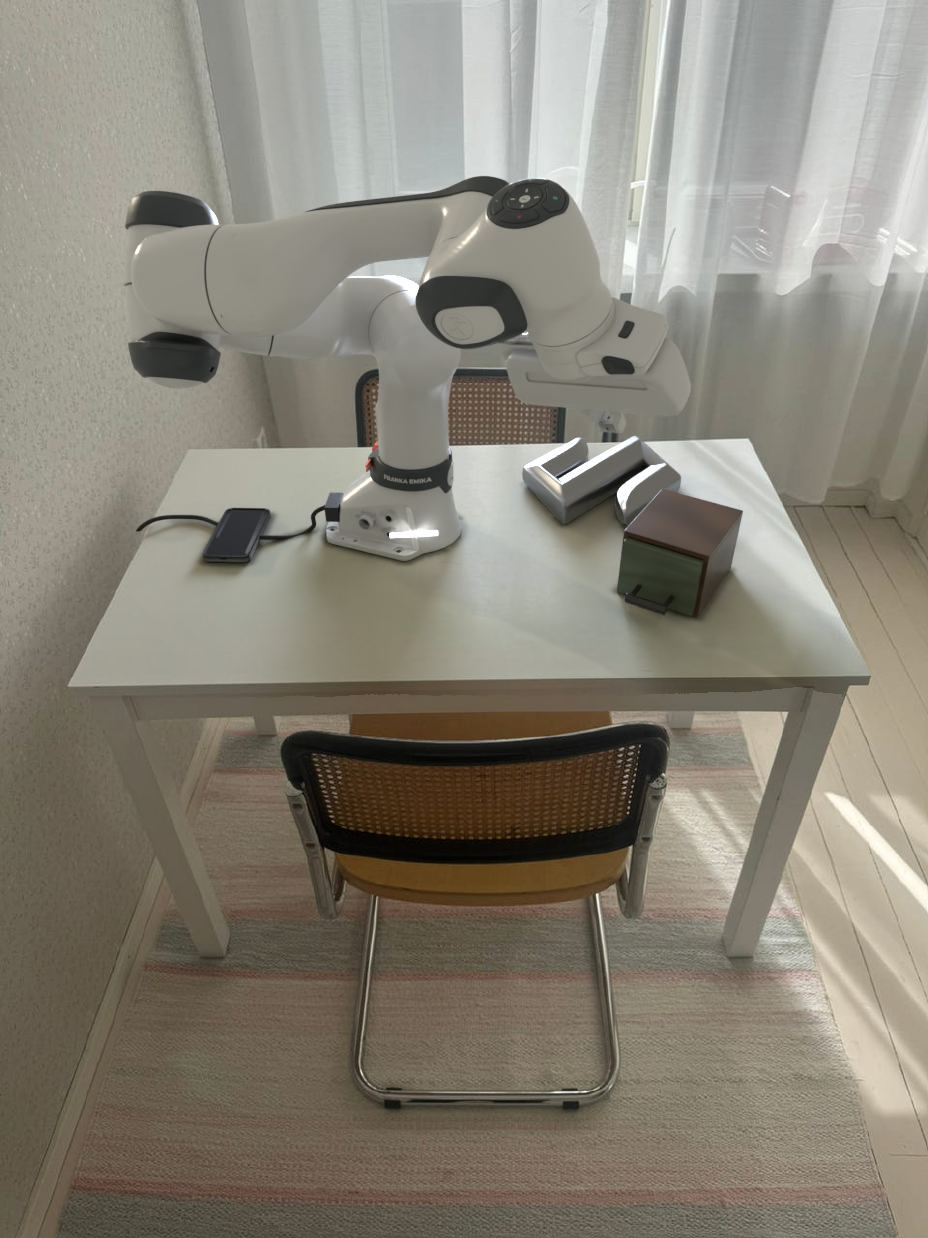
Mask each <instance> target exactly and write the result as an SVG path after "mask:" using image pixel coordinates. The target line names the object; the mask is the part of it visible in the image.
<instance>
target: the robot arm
mask: <svg viewBox="0 0 928 1238" xmlns="http://www.w3.org/2000/svg"><path fill="white" fill-rule="evenodd" d="M124 227H125V229H126V230H127V234H126V240H125V252H124V265H123V286H124V287H125V303H126V304H125V305H126V317H127V326H128V327H127V328H128V333H129V338H130V341H129V342H128V343H127V346H128V347H127V348H128V352H129V358H130V360H131V364H132V367H133V369H134V370H135V371H136V372H137V374H139V375H140V376H141V377H142V378H145V379H148V380H150V381H151V382H153V383H155V384H157V385H160V386H162V387H167V388H171V389H180V390H181V389H190V388H193V387H196V386H199V385H201V384H207V383H209V382H210V381H211V380H212V379H213V378H214V377H215V376H216V374H217V371H218V369H219V365H220V361H221V356H222V353H221V351H220V350H219V348H223V349H227V350H230V351H235V352H240V353H245V354H251V355H257V356H265V357H273V358H274V357H275V358H284V359H294V360H303V361H312V362H319V363H320V362H322V363H323V362H328V361H330V360H331V359H334V358H338V357H346V356H347V357H348V356H357V355H366V356H371V357H374V358H375V359H376V362H377V368H378V389H377V392H378V393H377V402H376V403H375V406H374V413H375V425H376V436H377V440H376V442H374V445H373V446H372V448H371V451H372V452H370V454H369V455H368V457H367V462H366V463H365V473H364V474H363V475H361V476H359V477H357V478H356V479H355V480H353V481H352V482H351V483H350V484H349V486H347V488H346V489H345V490H344V492H329V493H328V496H327V499H326V501H325V504H324V505H321V506H319V507H317V508H315V509H314V510H313V511H312V513H311V515H310V521H311V525H310V526H309V527H308V528H306V529H305V530H303V531H301V532H298V533H295V534H287V535H286V534H283V535H279V534H278V535H277V534H275V535H269V534H268V535H267V534H265V535H264V534H263V535H260V536H259V538H260V541H261V540H263V541H284V540H288V539H292V538H295V537H298V536H300V535H305V534H309V533H311V532H312V531H313V530H315V529H316V527H317V520H316V516H317V515H318V514H319V513H321V512H323V511H324V517H325V522H327V525H326V528H325V533H326V534H325V536H326V537H325V538H326V540H327V542H328V543H329V544H332V545H336V546H340V547H343V548H347V549H351V550H356V551H359V552H360V551H361V552H364V553H368V554H373V555H376V556H380V557H385V558H388V559H393V560H397V561H402V562H406V561H411V560H413V559H415V558H417V557H420V556H421V555H423V554H428V553H432V552H436V551H440V550H441V549H444V548H446V547H448V546H450V545H452V544H453V543H454V542H456V541H457V540H458V539H459V537H460V536H461V534H462V530H463V525H462V523H461V520H460V518H459V514H458V511H457V506H456V502H455V496H454V491H453V485H454V480H455V479H454V477H455V476H454V475H455V474H454V472H455V471H454V461H453V452H452V451H453V450H452V449H451V447H450V430H449V429H450V425H449V405H450V404H449V403H450V396H451V395H450V394H451V389H452V382H453V378H454V375H455V373H456V372H457V369H458V367H459V366H460V365H459V364H460V361H461V354H462V353H461V351H462V350H475V349H481V348H486V347H488V346H493V345H495V344H498V349H499V351H500V353H501V355H502V358H503V359H504V360H505V367H506V372H507V376H508V379H509V382H510V385H511V387H512V390H513V392H514V395H515V397H516V398H517V399H518V400H519V401H520V402H522V403H523V404H525V405H532V406H543V407H552V408H553V407H554V408H565V409H576V410H579V412H580V413H581V414H582V415H583V416H585V417H586V418H587V419H588V420H589V421H590V422H593V424H594V426H595V428H596V430H597V432H602V433H611V434H619V435H621V434H623V432H624V430H625V428H626V427H627V420H626V418H625V414H631V415H632V414H634V415H645V416H653V417H654V416H655V417H666V418H675V417H677V416H678V415H679V414H680V413H681V412H682V411H683V409H684V407H685V406H686V404H687V403H688V400H689V397H690V394H691V390H692V385H691V384H692V383H691V380H690V375H689V372H688V370H687V366H686V364H685V361H684V359H683V356H682V354H681V351H680V349H679V347H678V346H677V345H676V343H674V341H672V339H670V338H668V337H666V336H667V334H668V330H669V322H668V319H667V317H666V316H665V314H662V313H660V312H657V311H653V310H649V309H646V308H643V307H640V306H636V305H633V304H630V303H627V302H626V301H623V300H621V299H619V298H616V297H613V296H612V294H611V292H610V290H609V288H608V286H607V284H605V282H604V281H603V280H602V277H601V262H600V261H601V260H600V257H599V254H598V251H597V248H596V246H595V243H594V240H593V237H592V235H591V233H590V230H589V227H588V225H587V222H586V220H585V218H584V216H583V213H582V212H581V210H580V207H579V206H578V204H577V203H576V201H575V199H574V198H573V197H572V195H571V194H570V193H569V192H568V191H567V190H566V189H565V188H564V187H563V186H562V185H561V184H559V183H558V182H557V181H554V180H551V179H548V178H542V177H533V178H530V177H529V178H524V179H520V180H517V181H514V182H510V181H507V180H505V179H503V178H500V177H496V176H491V175H478V176H472V177H468V178H466V179H463V180H461V181H459V182H457V183H455V184H452V185H450V186H447V187H445V188H443V189H439V190H435V191H430V192H425V193H424V192H423V193H416V194H406V195H397V196H388V197H380V198H369V199H361V200H352V201H345V202H338V203H331V204H327V205H323V206H319V207H316V208H312V209H309V210H306V211H304V212H301V213H299V214H298V213H297V214H295V215H291V216H287V217H283V218H278V219H277V218H276V219H272V220H266V221H258V222H249V223H235V224H233V223H231V224H229V223H228V224H227V223H223V224H222V223H221V224H219V220H218V218H217V216H216V214H215V213H214V212H213V210H212V208H211V207H210V206H209V205H208V204H207V203H206V202H205V201H203V200H201V199H199V198H197V197H195V196H193V195H191V194H189V193H188V192H187V193H186V192H184V191H181V190H178V189H169V188H161V189H155V190H147V191H142V192H140V193H139V194H137V195H136V196H134V197H133V198H132V199H131V200H130V202H129V205H128V209H127V213H126V219H125V225H124ZM423 258H427V260H426V262H425V266H424V268H423V271H422V274H421V277H420V280H419V283H418V284H417V283H415V282H414V281H412V280H409V279H407V278H404V277H401V276H397V275H381V276H350V275H352V274H353V273H355V272H356V271H358V270H360V269H361V268H364V267H366V266H369V265H372V264H374V263H379V262H389V261H399V260H410V259H423ZM525 332H526V333H525ZM165 520H166V521H167V520H197V521H202V522H205V523H208V524H211V525H213V526H215V527H217V525H218V523H219V522H220V521H216V520H214V519H212V518H209V517H207V516H204V515H203V516H202V515H198V514H164V515H159V516H155V517H150V518H149V519H147V520H145V521H143V522H142V523H141V524H139V526H138V527H137V528H136V529H135V532H137V533H139V532H141V531H143V530H144V529H145V528H147V526H149V525H151V524H154V523H156V522H160V521H165Z"/></svg>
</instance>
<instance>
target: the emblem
mask: <svg viewBox="0 0 928 1238" xmlns="http://www.w3.org/2000/svg"><path fill="white" fill-rule="evenodd" d="M589 453H590V452H589V446H588V443H587V440H586V439H585V438H583V437H579V436H578V437H576V438H574V439H572V440H570V441H569V442H566V443H565V444H562V445H561V446H559V447H556V448H555V449H552V450H551V451H549V452H547V453H545V454H544V455H541V456H540V457H538V458H537V459H534V460H533V461H531V462H528V463H527V464H526V465H524V466H523V467H522V471H521V476H522V481H523V482H524V484H525V485H526V486H527V488H529V489H530V491H531V492H532V493H533V494H534V495H535V496H536V497H537V499H538V500H540V502H541V503H542V504H543V505H544V506H545V507H546V509H548V510H549V511H550V513H551V514H552V515H553V516H554V517H555V518H556V519H557V521H559V522H560V523H561V524H562V525H567V524H568V523H570V522H572V521H573V520H575V519H576V518H579V517H580V516H581V515H583V514H584V513H586V512H588V511H590V510H591V509H592V508H594V507H595V506H597V505H599V504H600V503H602V502H603V501H605V500H607V499H609V498H610V497H612V496H613V495H615V498H614V510H615V514H616V517H617V519H618V521H619V522H620V523H621V524H622V525H623V524H624V525H626V526H627V527H628V526H629V525H630V524H631V523H632V521H633V520H634V519H635V518H636V517H637V516H638V515H639V514H640V513H641V512H642V511H643V509H644V508H645V507H646V506H647V505H648V504H649V503H650V502H651V501H652V500H653V499H654V497H655V496H656V495H657V494H658V493H659V492H660V491H661V490H662V489H665V490H669V491H673V492H676V493H678V492H679V490H680V489H681V484H682V475H681V474H680V473H679V472H678V471H677V470H676V469H675V468H674V467H672V466H671V465H670V464H669V463H668V462H667V461H666V460H665V459H664V458H662V457H661V456H660V455H659V454H658V453H657V452H655V451H654V449H652V448H651V447H650V446H649V445H648V444H647V443H645V442H644V440H642V439H641V438H640V437H639V436H637V435H633V436H631V437H629V438H627V439H626V440H624V441H622V442H620V443H619V444H617V445H615V446H613V447H611V448H610V449H607V450H606V451H604V452H602V453H600V454H598V455H597V456H595V457H593V458H591V459H590V460H589Z"/></svg>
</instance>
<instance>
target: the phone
mask: <svg viewBox="0 0 928 1238" xmlns="http://www.w3.org/2000/svg"><path fill="white" fill-rule="evenodd" d="M271 518H272V514H271V509H269V508H266V507H229V508H227V509H225V510H224V512H223V515H222V516H221V518H220V520H219V521H218V522H219V523H218V525H217V526H215V529H214V531H212V534H211V535H210V538H209V540H208V542H207V543H206V545H205V546H204V548H203V550H202V552H201V555H202V557H203V561H204V562H207V563H237V564H239V563H241V564H242V563H243V564H244V563H248V562H250V561H252V559H253V557H254V554H255V553H256V550H257V548H258V546H259V544H260V541H261V540H260V538H259V536H260V535H264V533H265V531H266V528H267V527H268V525H269V522H270V520H271Z"/></svg>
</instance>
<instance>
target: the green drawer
mask: <svg viewBox="0 0 928 1238" xmlns="http://www.w3.org/2000/svg"><path fill="white" fill-rule="evenodd" d="M622 543H623V551H622V550H621V552H622V559H621V558H620V561H621V568H620V567H619V569H620V576H619V575H618V578H619V585H618V584H617V586H618V591H617V592H619V593H622V594H625V596H624V598H623V599H624V600H623V601H624V603H625V604H626V603H627V604H629V605H632V606H635V607H638V608H640V609H644V610H646V611H649V612H652V613H654V614H655V613H656V614H659V615H661V616H666V614H667V612H668V609H669V610H673V611H676V612H679V613H680V614H681V613H682V614H685V615H688V616H691V617H693V616H692V614H693V613H694V611H695V605H696V600H697V595H698V590H699V584H700V579H701V574H702V569H703V563H704V561H703V559H700V558H697V557H694V556H690V555H687V554H684V553H680V552H677V551H674V550H671V549H667V548H664V547H661V546H657V545H654V544H651V543H648V542H644V541H641V540H638V539H635V540H634V539H631V538H628V537H627V538H626V539H625V540H624V542H623V541H622Z"/></svg>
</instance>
